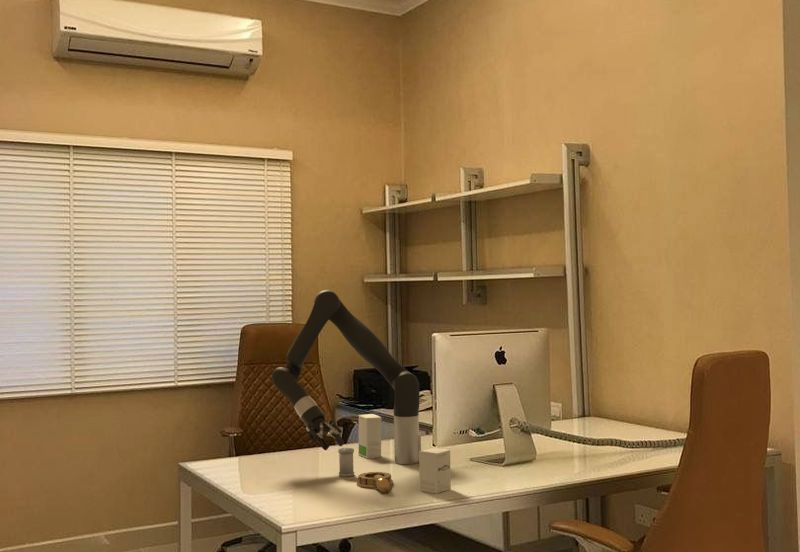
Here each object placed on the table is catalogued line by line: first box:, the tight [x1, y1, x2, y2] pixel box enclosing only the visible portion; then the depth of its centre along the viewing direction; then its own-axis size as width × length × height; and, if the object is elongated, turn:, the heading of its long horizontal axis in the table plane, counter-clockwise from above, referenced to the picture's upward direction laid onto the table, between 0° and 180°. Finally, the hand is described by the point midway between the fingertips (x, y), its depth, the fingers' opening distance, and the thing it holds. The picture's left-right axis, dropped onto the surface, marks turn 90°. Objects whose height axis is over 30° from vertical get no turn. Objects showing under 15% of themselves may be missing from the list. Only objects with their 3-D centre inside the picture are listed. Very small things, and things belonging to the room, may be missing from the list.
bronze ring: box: [356, 471, 394, 495], centre depth 272 cm, size 12×20×4 cm, turn 16°
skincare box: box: [357, 413, 383, 459], centre depth 324 cm, size 8×7×16 cm
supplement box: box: [418, 447, 452, 494], centre depth 267 cm, size 7×7×13 cm
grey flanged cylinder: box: [337, 447, 355, 478], centre depth 290 cm, size 5×5×9 cm
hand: (335, 446), depth 293 cm, fingers open, 8 cm apart
